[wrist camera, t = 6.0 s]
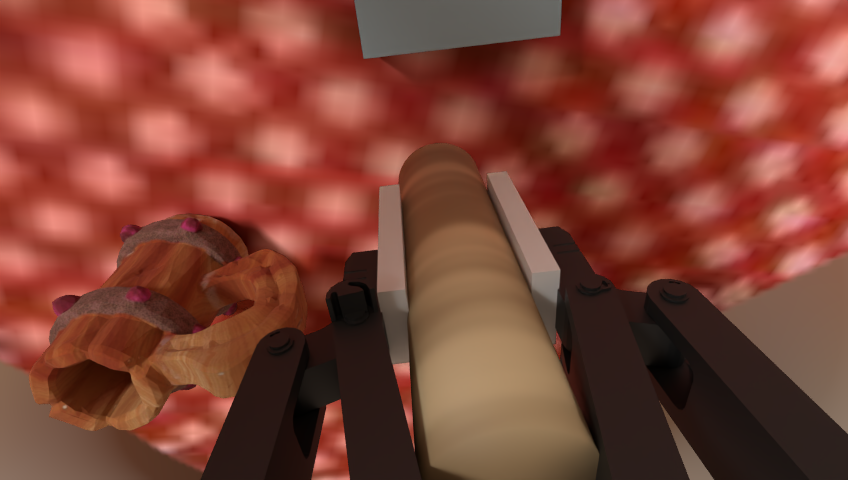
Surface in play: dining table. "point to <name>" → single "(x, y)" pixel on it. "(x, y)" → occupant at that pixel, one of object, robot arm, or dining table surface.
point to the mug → (164, 323)
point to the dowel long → (479, 339)
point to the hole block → (451, 23)
